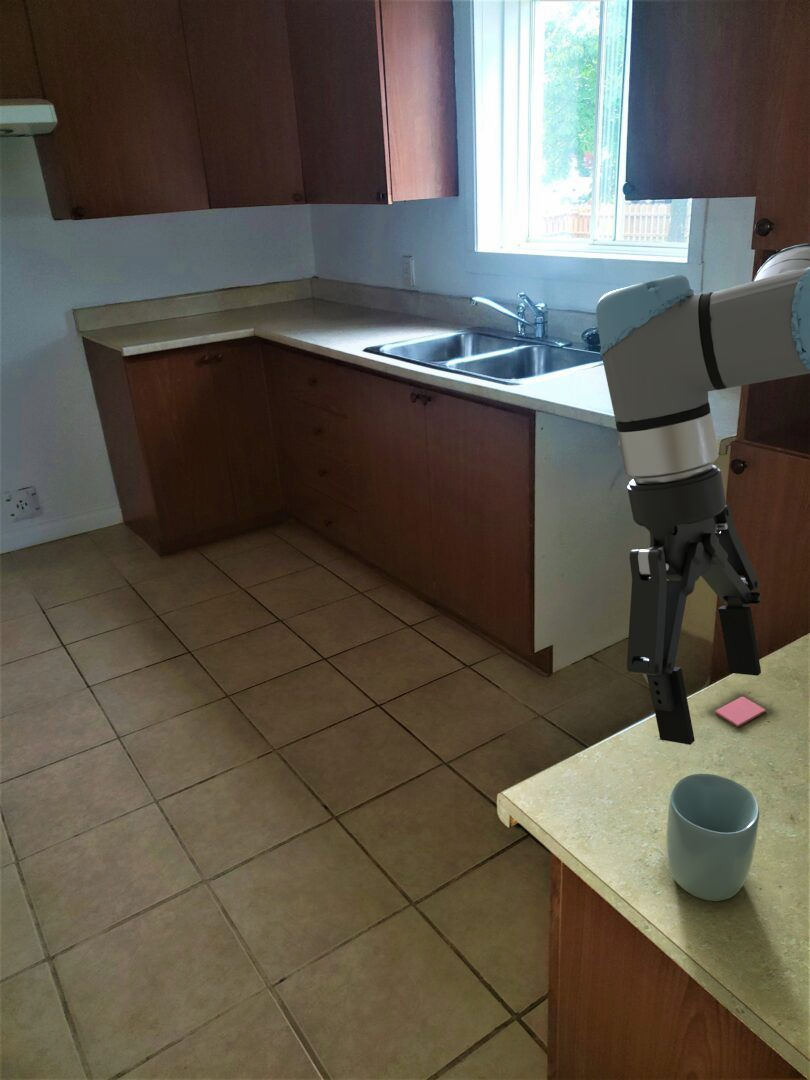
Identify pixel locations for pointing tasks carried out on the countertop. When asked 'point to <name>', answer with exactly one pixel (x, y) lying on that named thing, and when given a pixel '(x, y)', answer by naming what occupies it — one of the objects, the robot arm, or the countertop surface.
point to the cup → (711, 835)
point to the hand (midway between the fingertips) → (713, 704)
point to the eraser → (740, 711)
